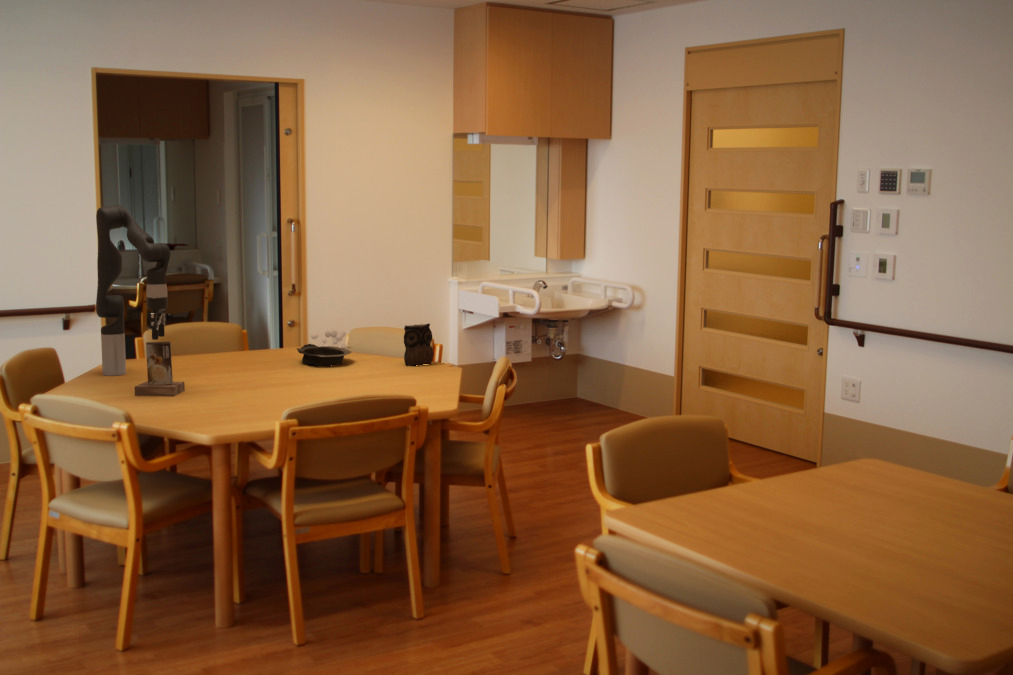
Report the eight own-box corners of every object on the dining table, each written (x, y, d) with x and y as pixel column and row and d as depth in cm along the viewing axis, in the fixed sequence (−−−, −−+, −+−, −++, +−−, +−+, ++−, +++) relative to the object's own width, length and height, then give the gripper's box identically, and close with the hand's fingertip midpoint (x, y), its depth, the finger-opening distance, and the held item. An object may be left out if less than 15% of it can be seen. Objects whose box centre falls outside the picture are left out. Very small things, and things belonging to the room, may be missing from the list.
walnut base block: (146, 391, 384) (146, 381, 383) (184, 391, 384) (184, 381, 383) (134, 397, 372) (134, 386, 371) (174, 397, 372) (174, 387, 371)
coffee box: (172, 381, 382) (171, 341, 380) (172, 384, 376) (171, 343, 374) (147, 382, 380) (146, 341, 377) (147, 385, 374) (145, 344, 371)
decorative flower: (305, 353, 490) (305, 325, 489) (350, 353, 492) (350, 325, 490) (299, 361, 466) (298, 331, 464) (346, 361, 467) (346, 331, 466)
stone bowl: (285, 366, 447) (285, 346, 446) (328, 360, 466) (328, 341, 465) (319, 372, 431) (319, 351, 430) (363, 366, 450) (362, 346, 449)
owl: (434, 365, 454) (434, 322, 451) (424, 369, 442) (425, 325, 439) (409, 364, 457) (409, 321, 455) (398, 368, 445) (398, 324, 443)
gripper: (152, 294, 379) (153, 335, 382) (141, 297, 365) (142, 340, 367) (172, 294, 380) (173, 335, 382) (161, 297, 366) (163, 340, 368)
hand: (158, 338), depth 375 cm, fingers open, 8 cm apart
